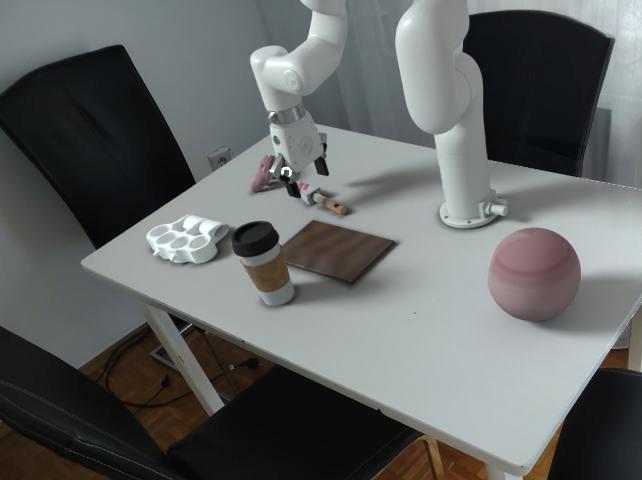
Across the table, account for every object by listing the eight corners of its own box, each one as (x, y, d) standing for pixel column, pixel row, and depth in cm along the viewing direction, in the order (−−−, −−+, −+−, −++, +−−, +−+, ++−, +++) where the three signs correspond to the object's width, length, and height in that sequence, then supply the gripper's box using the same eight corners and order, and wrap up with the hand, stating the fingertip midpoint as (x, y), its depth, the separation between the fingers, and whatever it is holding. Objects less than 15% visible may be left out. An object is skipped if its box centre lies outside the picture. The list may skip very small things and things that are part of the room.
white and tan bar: (294, 174, 149) (348, 201, 138) (298, 184, 151) (351, 212, 140) (281, 181, 147) (334, 210, 136) (285, 191, 149) (337, 220, 138)
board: (394, 243, 128) (393, 240, 128) (352, 285, 120) (351, 281, 120) (313, 222, 139) (312, 219, 138) (270, 259, 131) (268, 256, 130)
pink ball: (514, 274, 115) (507, 202, 105) (594, 291, 109) (595, 217, 98) (476, 327, 107) (465, 255, 96) (560, 350, 100) (557, 275, 90)
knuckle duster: (241, 234, 140) (192, 274, 131) (187, 220, 148) (138, 256, 140) (236, 221, 137) (185, 261, 129) (181, 207, 146) (131, 243, 137)
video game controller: (268, 197, 153) (272, 172, 148) (249, 192, 152) (252, 166, 147) (276, 176, 160) (280, 151, 155) (257, 171, 159) (261, 146, 154)
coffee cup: (280, 315, 117) (251, 249, 107) (248, 304, 121) (217, 239, 111) (309, 287, 122) (284, 221, 112) (277, 277, 126) (250, 213, 115)
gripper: (270, 134, 124) (296, 209, 136) (327, 96, 133) (346, 169, 145) (244, 128, 127) (271, 202, 139) (300, 91, 137) (321, 163, 149)
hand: (309, 185), depth 142 cm, fingers open, 9 cm apart
